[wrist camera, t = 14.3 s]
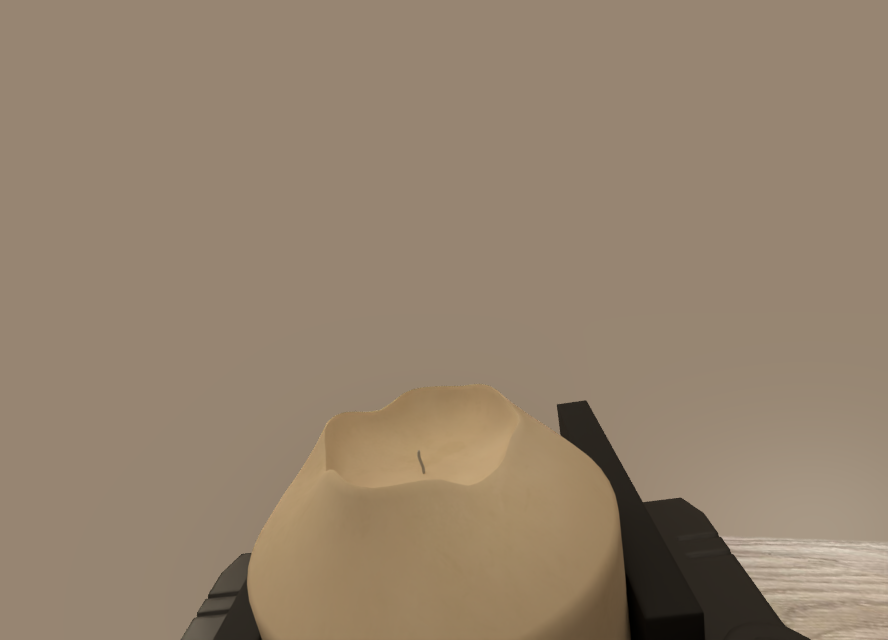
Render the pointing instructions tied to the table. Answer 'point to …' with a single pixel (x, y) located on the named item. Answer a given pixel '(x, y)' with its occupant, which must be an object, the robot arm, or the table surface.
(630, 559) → the robot arm
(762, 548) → the table surface
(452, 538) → the candle
